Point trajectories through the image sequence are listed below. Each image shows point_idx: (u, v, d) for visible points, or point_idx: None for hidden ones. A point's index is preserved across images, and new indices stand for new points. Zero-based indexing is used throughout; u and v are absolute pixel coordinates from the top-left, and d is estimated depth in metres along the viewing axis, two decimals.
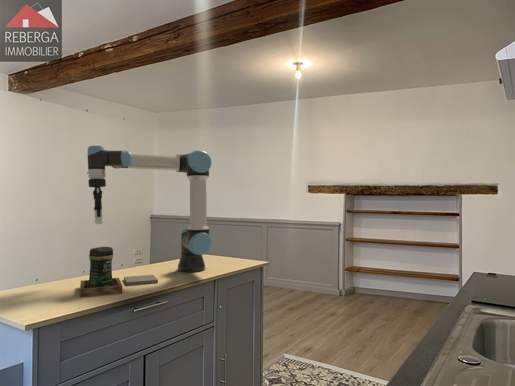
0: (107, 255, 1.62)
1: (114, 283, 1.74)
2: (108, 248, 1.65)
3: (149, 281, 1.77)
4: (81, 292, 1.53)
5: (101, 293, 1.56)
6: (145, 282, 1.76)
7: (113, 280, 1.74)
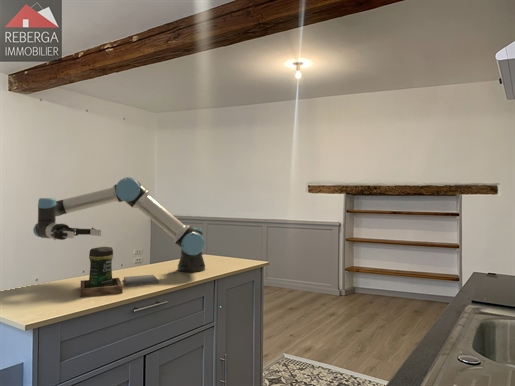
0: (107, 255, 1.62)
1: (114, 283, 1.74)
2: (108, 248, 1.65)
3: (149, 281, 1.77)
4: (81, 292, 1.53)
5: (101, 293, 1.56)
6: (145, 282, 1.76)
7: (113, 280, 1.74)
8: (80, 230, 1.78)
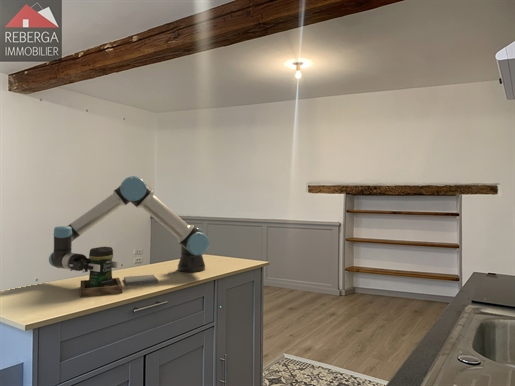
0: (107, 255, 1.62)
1: (114, 283, 1.74)
2: (108, 248, 1.65)
3: (149, 281, 1.77)
4: (81, 292, 1.53)
5: (101, 293, 1.56)
6: (145, 282, 1.76)
7: (113, 280, 1.74)
8: None
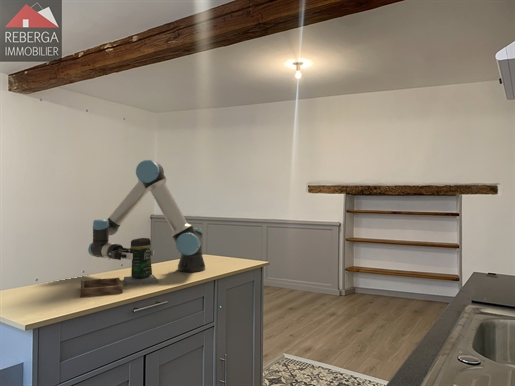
0: (146, 245, 1.83)
1: (114, 283, 1.74)
2: (146, 239, 1.86)
3: (149, 281, 1.77)
4: (81, 292, 1.53)
5: (101, 293, 1.56)
6: (145, 282, 1.76)
7: (113, 280, 1.74)
8: None
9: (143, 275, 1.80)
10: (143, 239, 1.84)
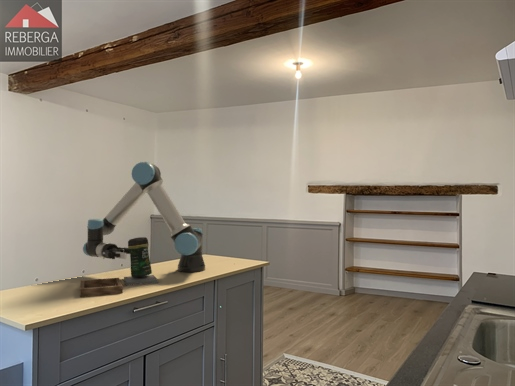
0: (143, 244, 1.83)
1: (114, 283, 1.74)
2: (143, 238, 1.86)
3: (149, 281, 1.77)
4: (81, 292, 1.53)
5: (101, 293, 1.56)
6: (145, 282, 1.76)
7: (113, 280, 1.74)
8: (128, 249, 1.92)
9: (143, 274, 1.80)
10: (140, 238, 1.85)
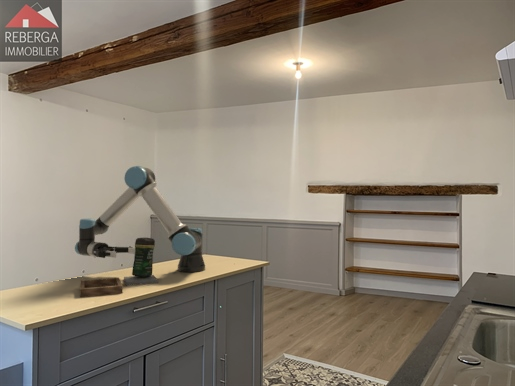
0: (151, 245, 1.85)
1: (114, 283, 1.74)
2: (151, 239, 1.88)
3: (149, 281, 1.77)
4: (81, 292, 1.53)
5: (101, 293, 1.56)
6: (145, 282, 1.76)
7: (113, 280, 1.74)
8: (119, 248, 1.96)
9: (144, 274, 1.81)
10: (148, 239, 1.86)
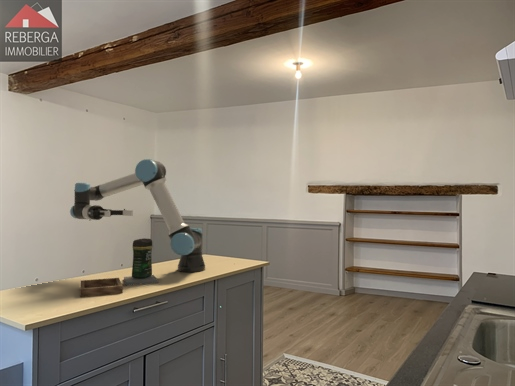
0: (148, 246, 1.83)
1: (114, 283, 1.74)
2: (148, 239, 1.86)
3: (149, 281, 1.77)
4: (81, 292, 1.53)
5: (101, 293, 1.56)
6: (145, 282, 1.76)
7: (113, 280, 1.74)
8: (113, 211, 1.98)
9: (144, 276, 1.81)
10: (145, 240, 1.84)
